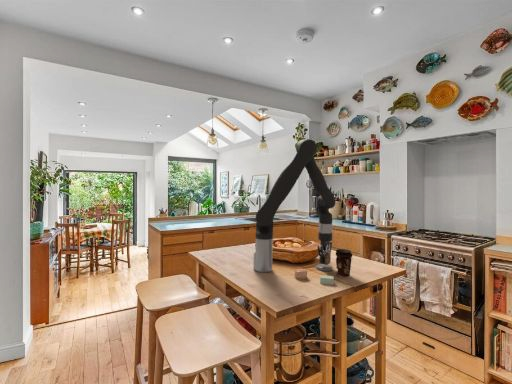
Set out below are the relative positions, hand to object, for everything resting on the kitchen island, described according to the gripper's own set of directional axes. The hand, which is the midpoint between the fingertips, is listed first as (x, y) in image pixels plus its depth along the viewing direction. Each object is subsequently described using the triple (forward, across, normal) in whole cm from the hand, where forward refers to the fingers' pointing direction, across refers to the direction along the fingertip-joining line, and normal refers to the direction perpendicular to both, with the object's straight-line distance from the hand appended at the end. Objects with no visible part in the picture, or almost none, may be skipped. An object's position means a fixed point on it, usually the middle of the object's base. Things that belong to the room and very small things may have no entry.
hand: (324, 262), depth 149 cm
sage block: (+4, +19, +10) cm, 22 cm away
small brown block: (+4, +21, -3) cm, 22 cm away
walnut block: (+1, 0, 0) cm, 1 cm away
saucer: (+4, 0, 0) cm, 4 cm away
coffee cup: (+4, +4, +12) cm, 13 cm away
